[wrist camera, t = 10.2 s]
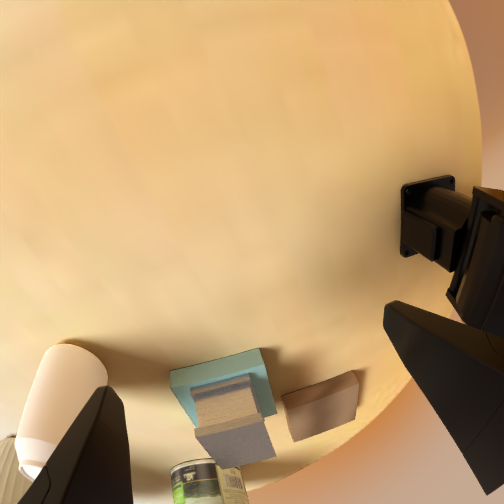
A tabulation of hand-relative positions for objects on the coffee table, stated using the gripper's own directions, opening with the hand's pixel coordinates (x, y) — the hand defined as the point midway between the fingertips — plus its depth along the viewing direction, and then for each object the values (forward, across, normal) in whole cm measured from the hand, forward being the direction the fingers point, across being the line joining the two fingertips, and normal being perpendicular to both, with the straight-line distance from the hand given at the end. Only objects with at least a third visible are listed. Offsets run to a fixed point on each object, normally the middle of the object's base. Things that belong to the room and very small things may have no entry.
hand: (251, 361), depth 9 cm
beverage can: (+13, +15, +9) cm, 22 cm away
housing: (+10, +3, +16) cm, 19 cm away
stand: (+12, +3, +16) cm, 20 cm away
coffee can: (+13, +11, +35) cm, 39 cm away
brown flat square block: (+12, -6, +24) cm, 28 cm away
